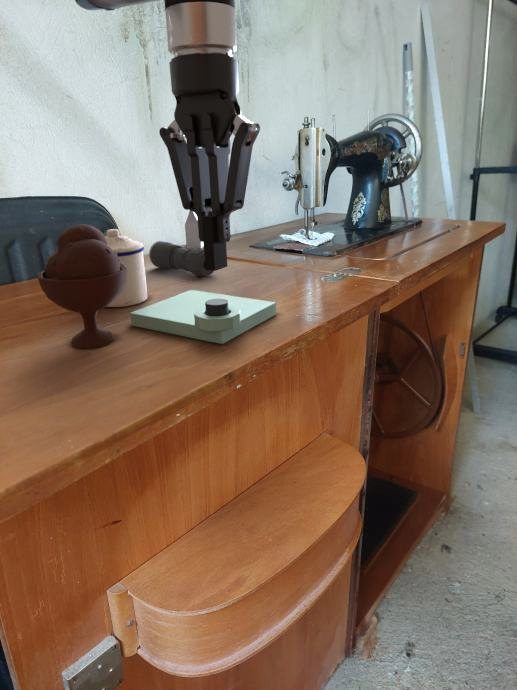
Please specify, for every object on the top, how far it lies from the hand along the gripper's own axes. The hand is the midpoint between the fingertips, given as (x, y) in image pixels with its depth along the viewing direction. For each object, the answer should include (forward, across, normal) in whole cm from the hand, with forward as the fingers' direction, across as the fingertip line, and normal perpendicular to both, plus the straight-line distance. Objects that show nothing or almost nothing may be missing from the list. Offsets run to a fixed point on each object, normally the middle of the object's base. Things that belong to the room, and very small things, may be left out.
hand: (216, 268), depth 65 cm
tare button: (+6, 0, 0) cm, 6 cm away
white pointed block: (+9, +44, -52) cm, 69 cm away
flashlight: (+9, +29, -28) cm, 42 cm away
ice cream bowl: (+9, +14, +9) cm, 19 cm away
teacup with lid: (+9, +26, -6) cm, 29 cm away
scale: (+9, +6, -5) cm, 12 cm away
